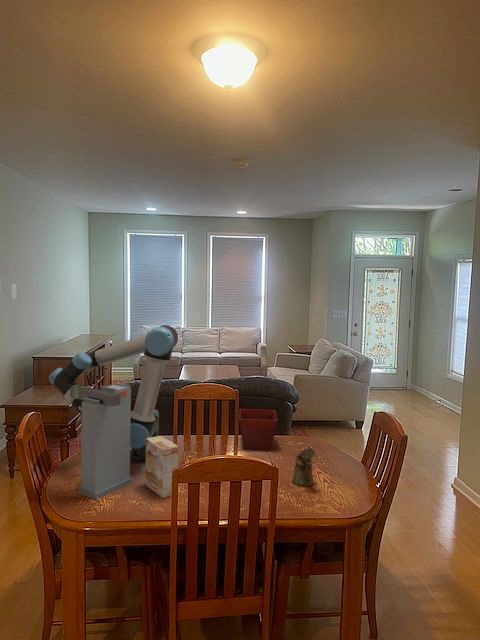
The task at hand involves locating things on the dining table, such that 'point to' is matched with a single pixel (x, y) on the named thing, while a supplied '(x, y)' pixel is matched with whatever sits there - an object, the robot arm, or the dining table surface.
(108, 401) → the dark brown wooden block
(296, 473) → the dark green figurine
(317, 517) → the dining table surface
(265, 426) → the plant pot
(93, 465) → the stand
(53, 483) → the dining table surface
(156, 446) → the coffeecake box
